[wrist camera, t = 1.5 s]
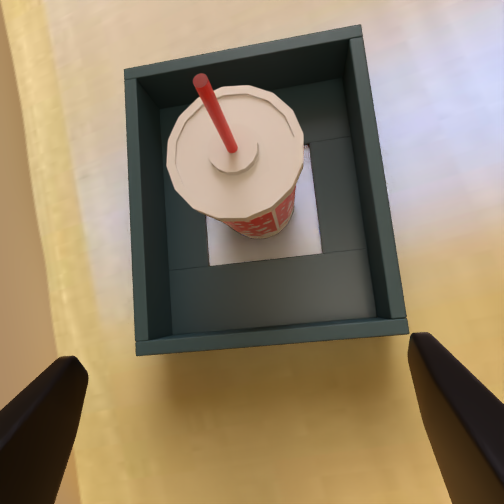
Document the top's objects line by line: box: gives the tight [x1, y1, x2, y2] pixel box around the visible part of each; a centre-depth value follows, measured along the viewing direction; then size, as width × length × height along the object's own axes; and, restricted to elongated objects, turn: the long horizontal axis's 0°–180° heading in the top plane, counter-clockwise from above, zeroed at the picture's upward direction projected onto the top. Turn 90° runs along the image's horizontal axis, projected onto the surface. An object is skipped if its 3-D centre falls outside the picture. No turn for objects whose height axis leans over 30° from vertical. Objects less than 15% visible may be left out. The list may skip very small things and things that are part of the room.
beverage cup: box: [166, 73, 304, 239], centre depth 18 cm, size 6×6×14 cm
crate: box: [124, 24, 409, 356], centre depth 23 cm, size 18×15×4 cm
